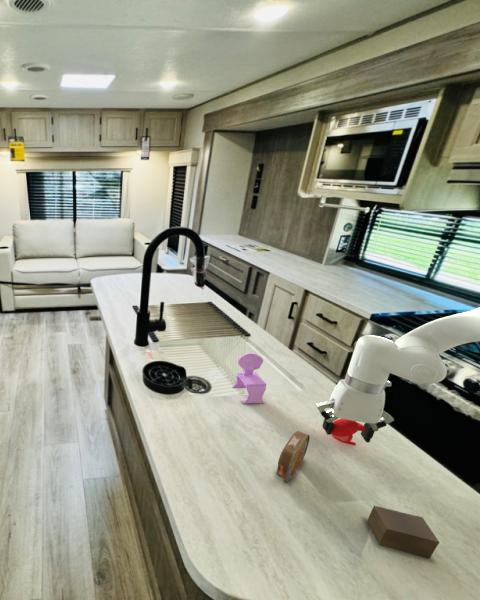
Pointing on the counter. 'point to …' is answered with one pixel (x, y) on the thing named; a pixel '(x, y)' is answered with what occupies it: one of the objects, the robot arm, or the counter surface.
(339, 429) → the cap
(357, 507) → the counter surface
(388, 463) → the counter surface
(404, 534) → the stop block
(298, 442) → the tin
